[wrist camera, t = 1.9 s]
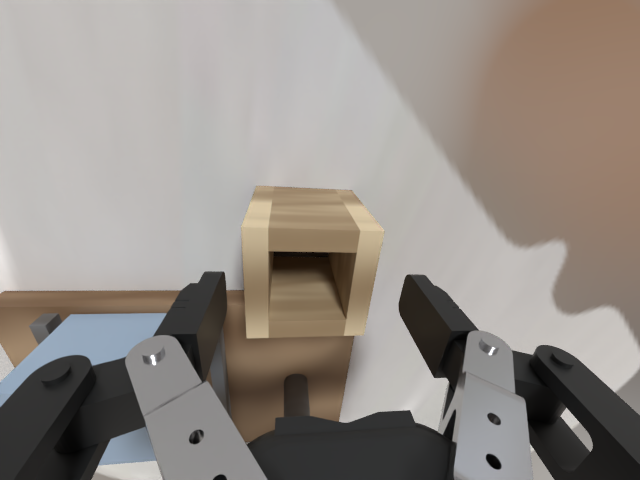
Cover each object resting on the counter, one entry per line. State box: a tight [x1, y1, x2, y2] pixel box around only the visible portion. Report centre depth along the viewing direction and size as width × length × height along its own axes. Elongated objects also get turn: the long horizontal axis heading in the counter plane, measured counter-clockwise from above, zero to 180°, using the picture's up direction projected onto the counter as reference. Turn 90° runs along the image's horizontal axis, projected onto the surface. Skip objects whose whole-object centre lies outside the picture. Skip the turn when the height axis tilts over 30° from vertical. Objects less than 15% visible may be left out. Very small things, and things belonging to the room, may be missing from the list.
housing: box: [0, 313, 167, 465], centre depth 15 cm, size 6×7×5 cm
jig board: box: [0, 290, 354, 442], centre depth 17 cm, size 15×22×8 cm
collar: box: [241, 186, 384, 338], centre depth 14 cm, size 6×6×6 cm
